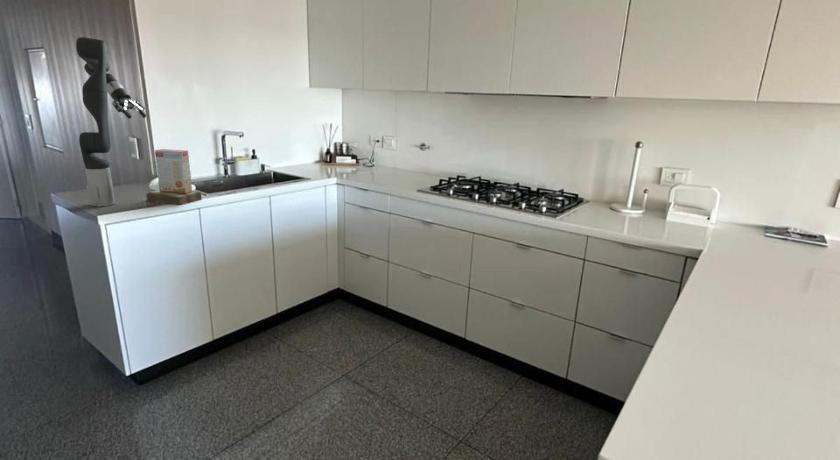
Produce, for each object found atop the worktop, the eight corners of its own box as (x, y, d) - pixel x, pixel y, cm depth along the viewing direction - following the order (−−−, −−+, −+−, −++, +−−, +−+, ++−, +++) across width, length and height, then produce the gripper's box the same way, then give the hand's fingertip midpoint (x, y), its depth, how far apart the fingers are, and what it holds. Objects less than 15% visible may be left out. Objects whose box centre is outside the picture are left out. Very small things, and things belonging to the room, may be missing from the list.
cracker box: (192, 191, 229) (188, 150, 223) (185, 194, 223) (180, 151, 217) (167, 189, 231) (162, 148, 225) (159, 192, 225) (154, 149, 219)
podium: (179, 205, 219) (178, 196, 218) (147, 200, 224) (146, 192, 223) (201, 199, 232) (200, 191, 230) (170, 195, 237) (169, 187, 236)
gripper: (107, 87, 223) (128, 112, 223) (133, 87, 236) (153, 111, 236) (101, 97, 226) (122, 122, 227) (127, 97, 239) (146, 121, 240)
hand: (138, 117), depth 232 cm, fingers open, 8 cm apart
